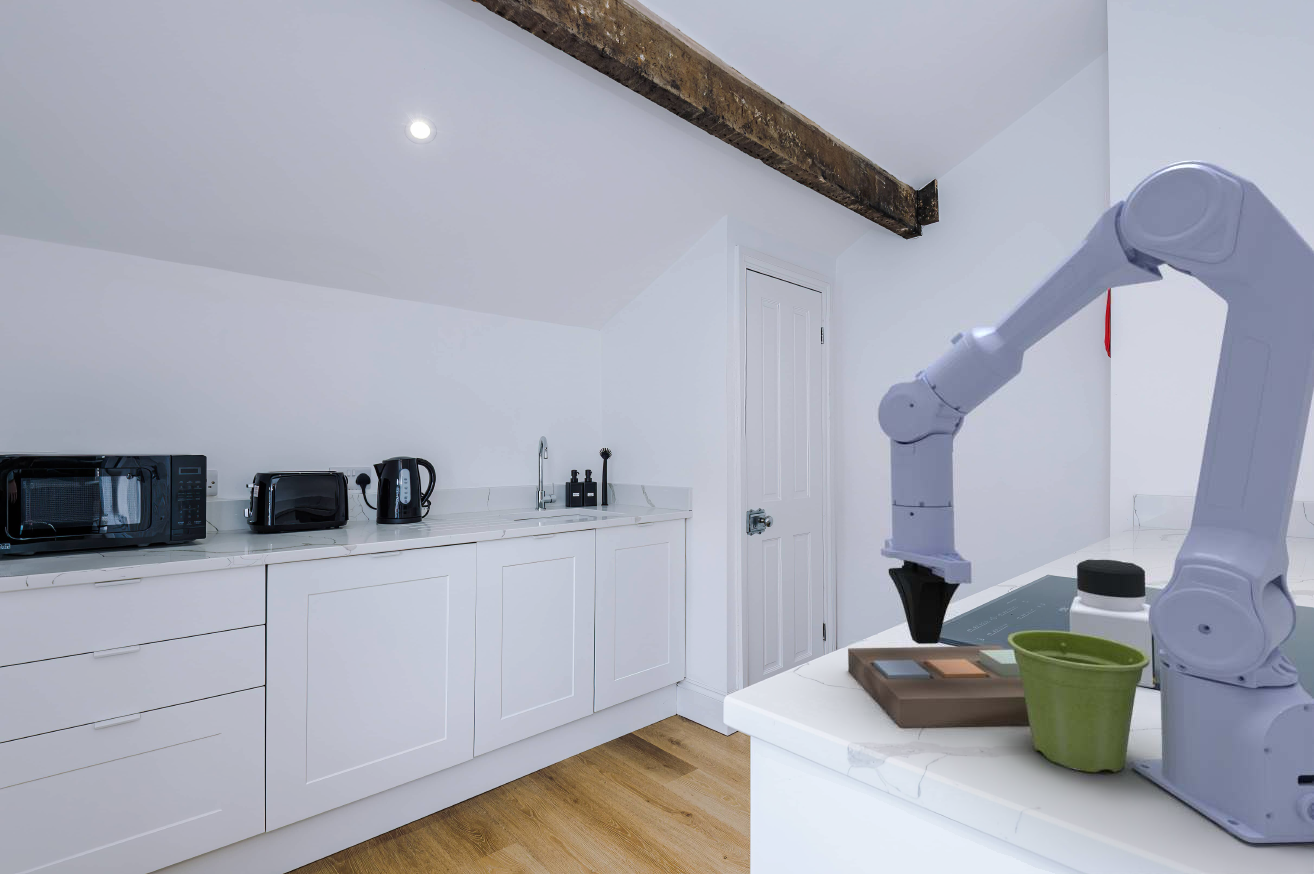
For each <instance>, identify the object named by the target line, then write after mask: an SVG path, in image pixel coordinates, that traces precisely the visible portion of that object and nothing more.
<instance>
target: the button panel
mask: <svg viewBox="0 0 1314 874" xmlns="http://www.w3.org/2000/svg"><path fill="white" fill-rule="evenodd" d="M979 650H1008V649H1006V648H1005V647H1002V646H1001V645H975V646H973V645H972V646H971V645H970V646H969V645H968V646H914V647H913V646H912V647H911V646H910V647H907V646H905V647H859V648H858V647H853V648H852V647H851V648H850V647H849V648H847V653H848V654H847V659H848V660H847V661H848V663H847V665H848V667H847V668H848V672H849V673H850V675H852V677H853V678H854V679H855V680H856V681H857V682H858V683H859V684H860V685H861V687H863V689H865V691H866V692H867V693H868V694H869V695H870V696H871V697H872V699H874V701H875V702H876V703H877V704H878V705H879V706H880V707H881V708H882V709H883V711H884V712H886V714H887V715H888V716H889V717H890V718H891V719H892V720H893V721H894V722H895V723H896V725H897V726H898V727H899V728H902V729H903V728H908V729H909V728H944V727H945V728H949V727H951V728H952V727H953V728H954V727H955V728H957V727H961V728H962V727H1000V726H1001V727H1003V726H1004V727H1005V726H1006V727H1007V726H1030V725H1029V719H1028V713H1027V707H1026V701H1025V695H1024V690H1023V684H1022V678H1021V677H999V676H998V675H996V674H995V673H993V672H992V671H990V670H988V669H987V668H985V667H984V666H982V665H981V664H980V655H979ZM955 659H965V660H967V661H968V662H970V663H972V664H973V665H975V666H976V667H978V668H979V669H981V670H982V671H984V672H985V673H986V675H987V678H943V677H942V676H940V675H939V674H938V673H936V672H935V671H934V670H932V669H931V668H930V667H929V666H927V660H955ZM895 660H913V661H914V662H915V663H916V664H918V665H919V666H920V667H921V668H923V669H924V670H925V671H927V672H928V673H929V674H930V679H886V678H885V677H884V676H883V675H882V674H881V673H880V672H879V671H878V670H877V669H876V668H875V667H874V661H895Z"/></svg>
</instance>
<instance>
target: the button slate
mask: <svg viewBox="0 0 1314 874" xmlns="http://www.w3.org/2000/svg"><path fill="white" fill-rule="evenodd" d="M874 667H875V668H876V669H877V670H878V671H879V672H880V673H881V674H882V675H883V676H884V677H885V678H886V679H930V674H929V673H928V672H927V671H925V670H924V669H923V668H921V667H920V666H919V665H918V664H916V663H915V662H914V661H913V660H895V661H874Z"/></svg>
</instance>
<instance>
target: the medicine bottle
mask: <svg viewBox="0 0 1314 874" xmlns="http://www.w3.org/2000/svg"><path fill="white" fill-rule="evenodd" d="M1145 571H1146V570H1145V569H1144V568H1142V567H1141V566H1140V565H1137V564H1135V563H1134V562H1129V561H1123V560H1119V559H1118V560H1117V559H1107V558H1106V559H1104V558H1103V559H1102V558H1094V559H1093V558H1091V559H1085V560H1082V561H1080V562H1079V563H1078V564H1077V565H1076V578H1077V579H1076V583H1077V584H1076V585H1077V586H1076V587H1077V596H1075V597H1074V598H1073V601H1072V603H1071V606H1070V608H1069V632H1072V633H1079V634H1085V635H1091V636H1096V637H1101V638H1105V639H1109V640H1113V641H1117V642H1121V643H1124V644H1127V645H1130V646H1132V647H1135V648H1137V649H1139V650H1141V651H1143V652H1145V653H1146V654H1147V655H1148V656H1149V658H1150V662H1149V665H1148V666H1147V667H1145V668H1143V671H1142V676H1141V681H1140V682H1139V683H1138V684H1137V686H1139V687H1146V688H1150V689H1151V688H1152V689H1153V688H1155V686H1156V670H1155V668H1156V667H1155V666H1156V665H1155V664H1156V663H1155V639H1154V637H1153V634H1152V632H1151V629H1150V625H1149V609H1150V606H1151V604H1148V603H1146V572H1145Z"/></svg>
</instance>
